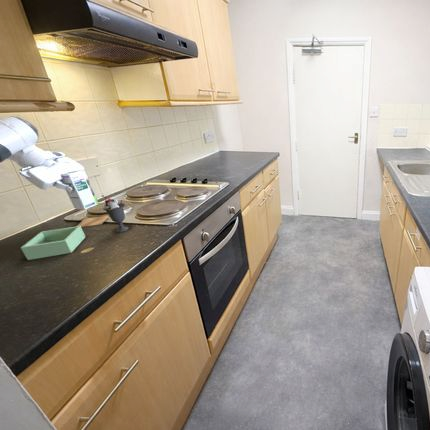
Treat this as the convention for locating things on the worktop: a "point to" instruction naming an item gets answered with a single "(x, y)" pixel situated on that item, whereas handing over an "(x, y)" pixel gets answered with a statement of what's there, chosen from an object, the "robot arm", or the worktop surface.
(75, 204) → the syrup box
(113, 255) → the worktop surface
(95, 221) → the wooden mat
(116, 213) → the sundae
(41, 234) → the green square tray
